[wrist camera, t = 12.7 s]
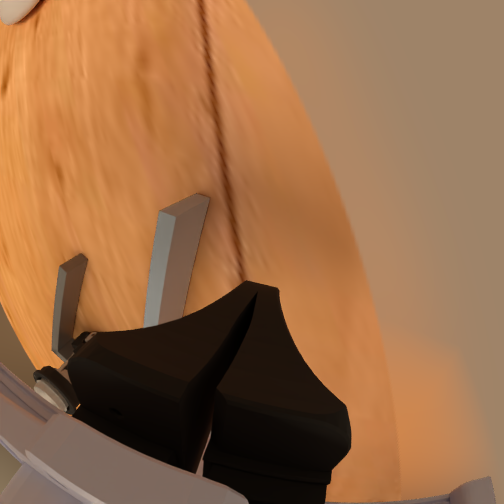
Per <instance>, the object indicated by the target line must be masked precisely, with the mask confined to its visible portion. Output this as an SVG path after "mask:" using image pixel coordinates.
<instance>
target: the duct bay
mask: <svg viewBox="0 0 504 504" xmlns="http://www.w3.org/2000/svg"><path fill="white" fill-rule="evenodd" d="M87 261H88V259H87V258H86V257H84V256H83V255H82V254H79V255H77V256H75V257H74V258H72V259H70V260H69V261H67V262H65V263H64V264H62V265H60V266H59V272H58V278H57V286H56V294H55V304H54V315H53V329H52V351H53V352H54V353H55V354H56V355H57V356H58V357H59V358H60V359H61V360H63V361H64V362H66V361H67V360H68V359H69V358H70V357H71V356H72V354H73V353H74V352H73V350H74V349H73V347H72V345H71V343H72V342H73V341H74V339H73V338H72V336H73V329H74V323H75V317H76V311H77V306H78V301H79V296H80V291H81V286H82V282H83V277H84V273H85V269H86V265H87Z"/></svg>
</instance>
